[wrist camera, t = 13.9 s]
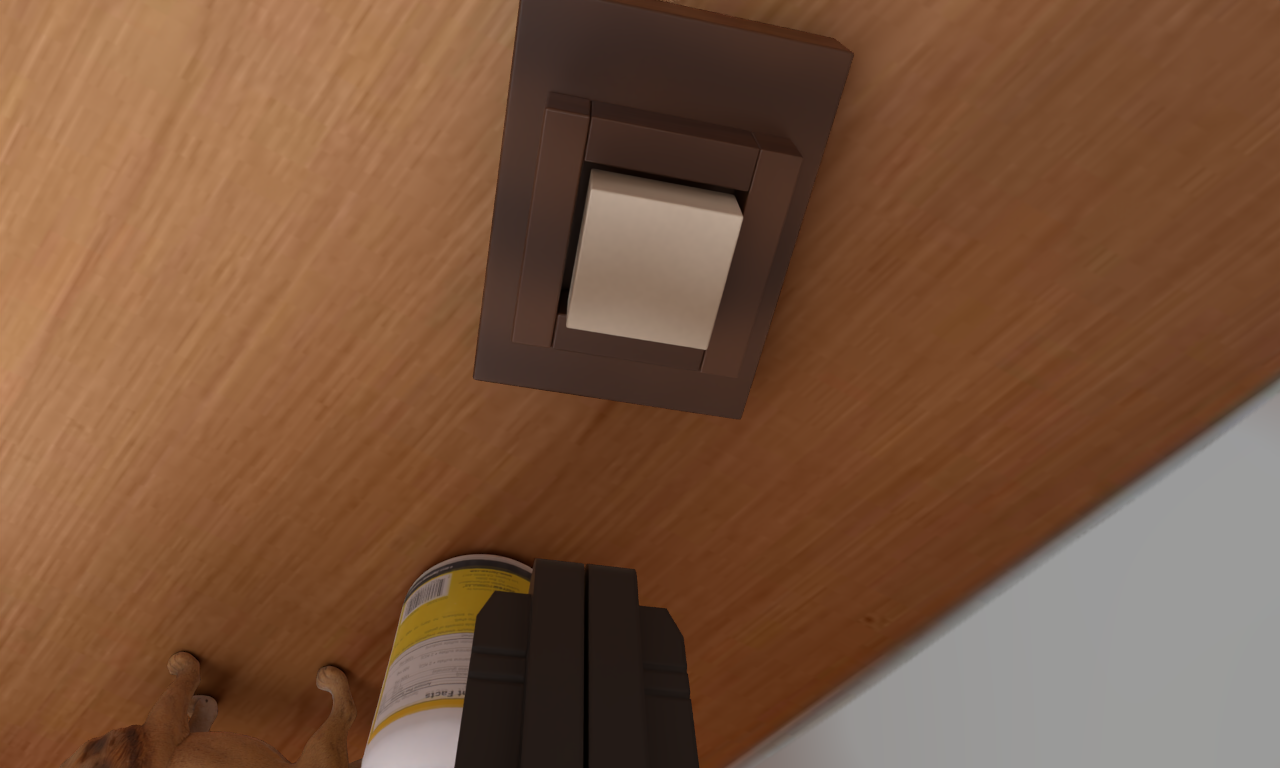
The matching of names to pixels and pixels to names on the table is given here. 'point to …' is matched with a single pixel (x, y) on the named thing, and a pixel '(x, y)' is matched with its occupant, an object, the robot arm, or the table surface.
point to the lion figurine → (214, 761)
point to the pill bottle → (435, 661)
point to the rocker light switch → (659, 150)
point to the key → (652, 259)
